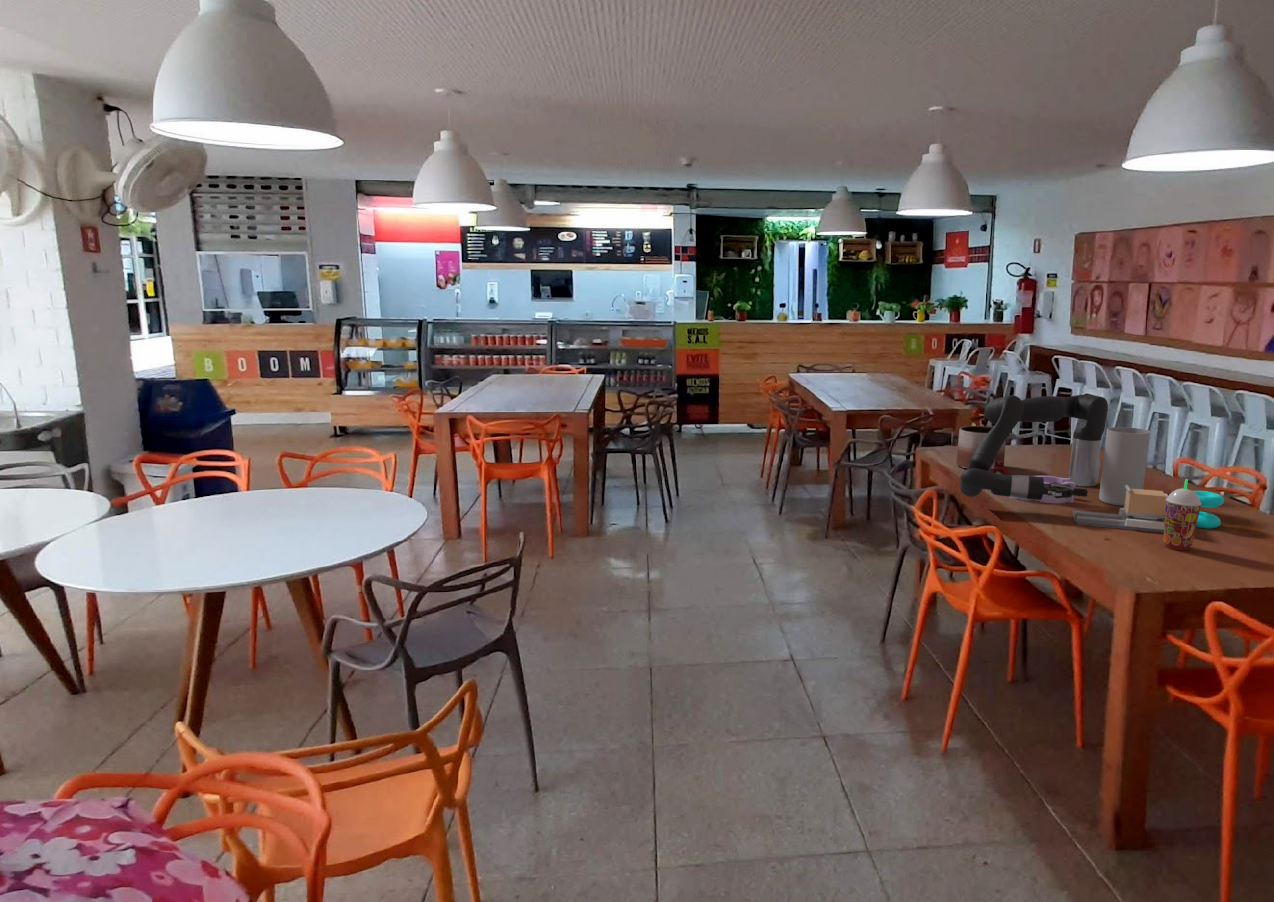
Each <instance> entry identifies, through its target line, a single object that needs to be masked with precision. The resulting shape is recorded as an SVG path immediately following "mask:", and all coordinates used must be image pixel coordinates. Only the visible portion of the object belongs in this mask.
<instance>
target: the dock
mask: <svg viewBox="0 0 1274 902" xmlns="http://www.w3.org/2000/svg"><path fill="white" fill-rule="evenodd" d="M1165 495H1166V496H1167V498H1168V496H1169V495H1168V493H1165ZM1123 508H1124V507H1119V511H1118V513H1112V512H1100V511H1091V510H1081V509H1080V510H1078V509H1072V512H1073V513H1072V515H1074V516H1073V517H1074V520H1075V523H1077V524H1080V525H1079V526H1087V525H1090V526H1089V527H1098V528H1099V527H1100V528H1107V527H1109V529H1110V528H1111V529H1118V528H1119V529H1120V530H1130V531H1138V530H1141V531H1140V532H1142V531H1143V532H1148V531H1151V532H1152V533H1158V532H1161V534H1164V524H1165V519H1162V520H1163V522H1159V521H1156V520H1157V519H1158V518H1150V517H1139V516H1133V517H1134V519H1128V515H1126V514H1125V512H1124V510H1123ZM1077 524H1076V525H1077Z"/></svg>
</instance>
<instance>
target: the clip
mask: <svg viewBox="0 0 1274 902" xmlns="http://www.w3.org/2000/svg"><path fill="white" fill-rule="evenodd" d="M1034 476H1035V477H1043V478H1044V483H1045V484H1047V483H1048V484H1050V482H1052V483H1053V482H1057V483H1061V484H1066V485H1070V486H1071V487H1074V488H1076V486H1077V485H1076V483H1073V482H1070V478H1069V477H1065V478H1064V477H1059V476H1058V477H1057V476H1053V475H1034ZM1011 498H1015V497H1011ZM1011 498H1010V499H1011ZM1015 499H1021V500H1020V501H1033V500H1032V499H1022V498H1015ZM1015 499H1014V500H1015ZM1038 501H1040V502H1039V503H1044V502H1045V503H1044V504H1065V503H1071V504H1072V503H1073V504H1074V502H1075V496H1074V495H1073V496H1072V497H1068V498H1055V497H1049V495H1045V494H1043V496H1042V499H1041V500H1035V501H1034V502H1038Z"/></svg>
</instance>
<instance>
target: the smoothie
mask: <svg viewBox="0 0 1274 902" xmlns="http://www.w3.org/2000/svg"><path fill="white" fill-rule="evenodd" d="M1188 481H1189V479H1188V478H1185V480H1184V485H1183V487H1182V488H1177V489H1175V490H1173V491H1171V492H1170V493H1169V495H1168V498H1166V508H1165V524H1164V533H1163V542H1164V547H1166V548H1168V549H1170V548H1171V549H1170V550H1174V549H1175V550H1174V551H1181V550H1185V551H1188V550H1190V547H1192V546H1193V542H1194V538H1195V535H1196V534H1195V533H1196V529H1197V527H1196V525H1197V521H1198V516H1199V512H1201V508H1202V507H1201V504H1202V503H1201V502H1200V500H1199V497H1198V495H1197V494H1196V493H1195V492H1193V491H1194V490H1191V489H1189V488H1188Z"/></svg>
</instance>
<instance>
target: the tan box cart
mask: <svg viewBox="0 0 1274 902" xmlns="http://www.w3.org/2000/svg"><path fill="white" fill-rule="evenodd" d="M1125 488H1126V489H1127V490H1126V498H1125V506H1123V507H1122V508H1123V510H1124V512H1125V514H1126V515H1128V519H1134V517H1133V516H1139V517H1150V518H1158V519H1157V520H1156V521H1159V522H1163V520H1162V519H1165V508H1166V498H1167V496H1166V495H1165V494H1166V493H1165V492H1164V491H1163V490H1154V489H1144V488H1143V489H1131V488H1130V487H1129V486H1128V485H1125Z"/></svg>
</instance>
